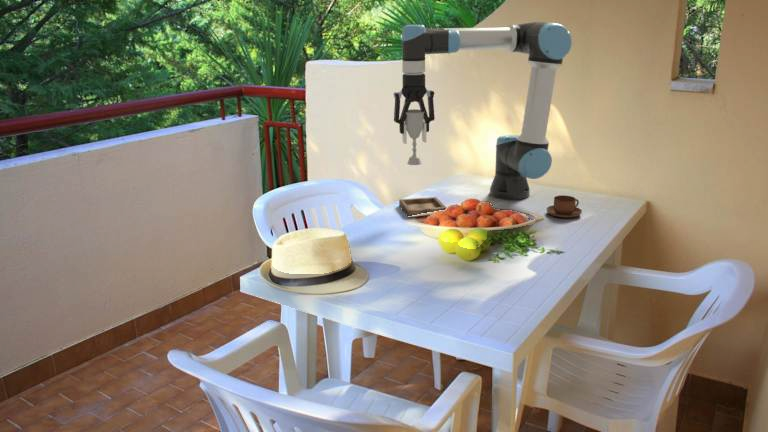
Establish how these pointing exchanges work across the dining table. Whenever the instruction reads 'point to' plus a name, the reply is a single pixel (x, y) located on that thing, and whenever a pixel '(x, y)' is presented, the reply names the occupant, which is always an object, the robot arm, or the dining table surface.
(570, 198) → the cup and saucer
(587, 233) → the dining table surface
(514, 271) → the dining table surface
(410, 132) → the chalice
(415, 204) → the tray
